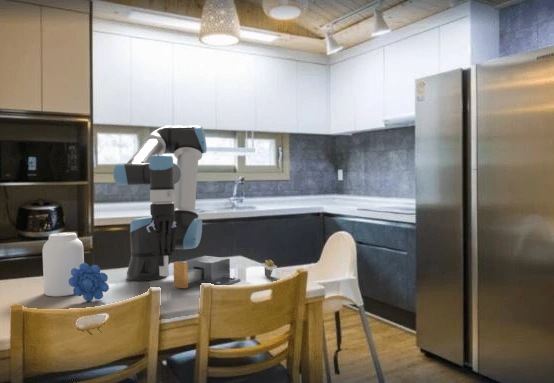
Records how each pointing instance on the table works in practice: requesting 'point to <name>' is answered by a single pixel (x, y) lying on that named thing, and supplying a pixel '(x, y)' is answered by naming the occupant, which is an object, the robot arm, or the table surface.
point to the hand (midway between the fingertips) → (164, 275)
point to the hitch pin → (186, 274)
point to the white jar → (61, 262)
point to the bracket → (213, 270)
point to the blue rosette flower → (88, 282)
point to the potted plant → (268, 268)
